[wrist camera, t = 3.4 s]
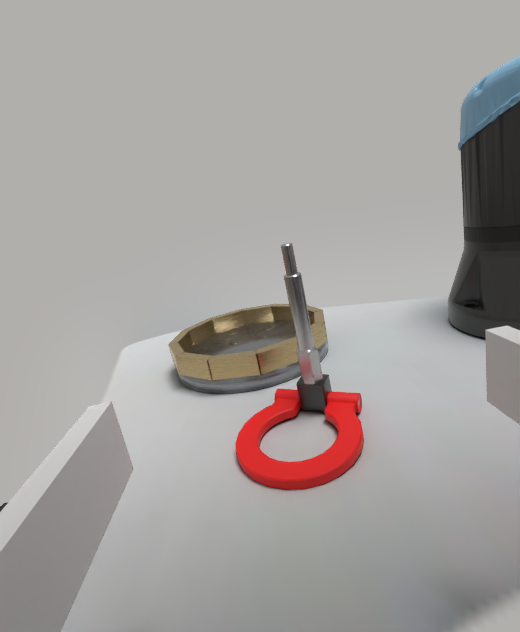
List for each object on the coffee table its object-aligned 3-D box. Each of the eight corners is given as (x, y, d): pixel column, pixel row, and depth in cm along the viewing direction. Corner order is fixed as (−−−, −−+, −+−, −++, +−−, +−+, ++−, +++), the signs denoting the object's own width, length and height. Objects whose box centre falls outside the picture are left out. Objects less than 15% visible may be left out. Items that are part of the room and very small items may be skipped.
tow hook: (348, 509, 19) (376, 407, 26) (304, 270, 15) (352, 231, 22) (216, 482, 22) (273, 399, 30) (154, 288, 19) (238, 250, 26)
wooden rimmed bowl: (353, 332, 41) (349, 303, 40) (269, 407, 29) (261, 368, 28) (243, 327, 52) (238, 304, 51) (147, 380, 39) (138, 351, 39)
